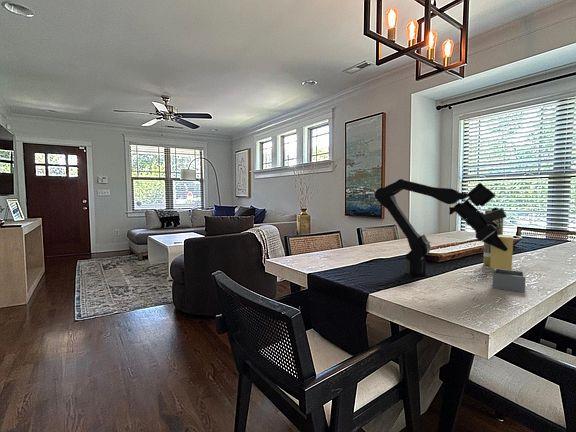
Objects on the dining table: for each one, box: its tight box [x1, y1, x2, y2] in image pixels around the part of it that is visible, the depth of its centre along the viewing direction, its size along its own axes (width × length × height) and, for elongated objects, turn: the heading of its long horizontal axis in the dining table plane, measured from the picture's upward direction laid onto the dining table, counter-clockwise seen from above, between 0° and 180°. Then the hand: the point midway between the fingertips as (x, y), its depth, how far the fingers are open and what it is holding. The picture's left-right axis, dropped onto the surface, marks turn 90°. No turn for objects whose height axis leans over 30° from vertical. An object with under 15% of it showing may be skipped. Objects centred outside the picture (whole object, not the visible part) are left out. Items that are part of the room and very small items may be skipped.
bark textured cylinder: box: [482, 208, 504, 267], centre depth 138 cm, size 7×7×25 cm
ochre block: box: [489, 234, 514, 270], centre depth 108 cm, size 6×6×11 cm
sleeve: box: [492, 268, 527, 293], centre depth 107 cm, size 9×9×5 cm
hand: (506, 248), depth 107 cm, fingers closed on ochre block, 6 cm apart
